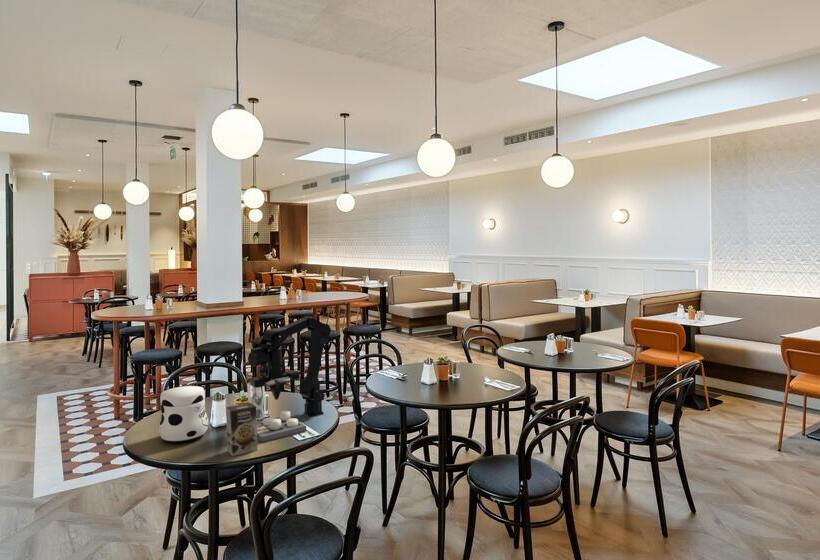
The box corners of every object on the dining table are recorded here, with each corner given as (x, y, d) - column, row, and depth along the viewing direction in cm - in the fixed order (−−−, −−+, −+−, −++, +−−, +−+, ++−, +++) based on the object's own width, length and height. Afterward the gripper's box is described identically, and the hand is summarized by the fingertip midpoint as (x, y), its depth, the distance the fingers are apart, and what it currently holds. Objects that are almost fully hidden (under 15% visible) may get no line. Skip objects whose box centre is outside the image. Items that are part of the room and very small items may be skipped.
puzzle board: (288, 420, 215) (288, 413, 215) (306, 431, 202) (306, 424, 201) (245, 430, 204) (245, 423, 204) (261, 442, 191) (261, 435, 190)
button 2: (278, 425, 202) (278, 417, 202) (283, 428, 199) (282, 420, 198) (267, 427, 199) (267, 420, 199) (272, 431, 196) (271, 423, 196)
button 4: (295, 424, 206) (295, 417, 206) (300, 427, 203) (299, 420, 203) (284, 427, 204) (284, 420, 204) (289, 430, 200) (289, 423, 200)
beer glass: (268, 414, 222) (266, 380, 221) (261, 420, 215) (260, 385, 214) (252, 414, 223) (251, 380, 221) (245, 420, 216) (244, 385, 215)
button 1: (271, 424, 208) (271, 416, 208) (276, 427, 204) (275, 419, 204) (261, 426, 205) (260, 419, 205) (265, 429, 202) (265, 422, 201)
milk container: (218, 434, 200) (216, 389, 199) (176, 449, 186) (174, 400, 184) (192, 426, 210) (189, 382, 208) (150, 440, 195) (147, 393, 194)
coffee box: (232, 456, 179) (230, 411, 177) (226, 451, 184) (225, 406, 183) (258, 450, 184) (256, 406, 183) (252, 444, 189) (250, 401, 188)
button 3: (287, 416, 212) (287, 409, 212) (292, 419, 208) (292, 412, 208) (277, 419, 209) (277, 411, 209) (282, 422, 206) (281, 414, 205)
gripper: (287, 354, 217) (289, 390, 219) (244, 361, 206) (246, 399, 208) (299, 358, 208) (301, 396, 210) (254, 366, 197) (256, 406, 199)
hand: (276, 399), depth 207 cm, fingers closed
